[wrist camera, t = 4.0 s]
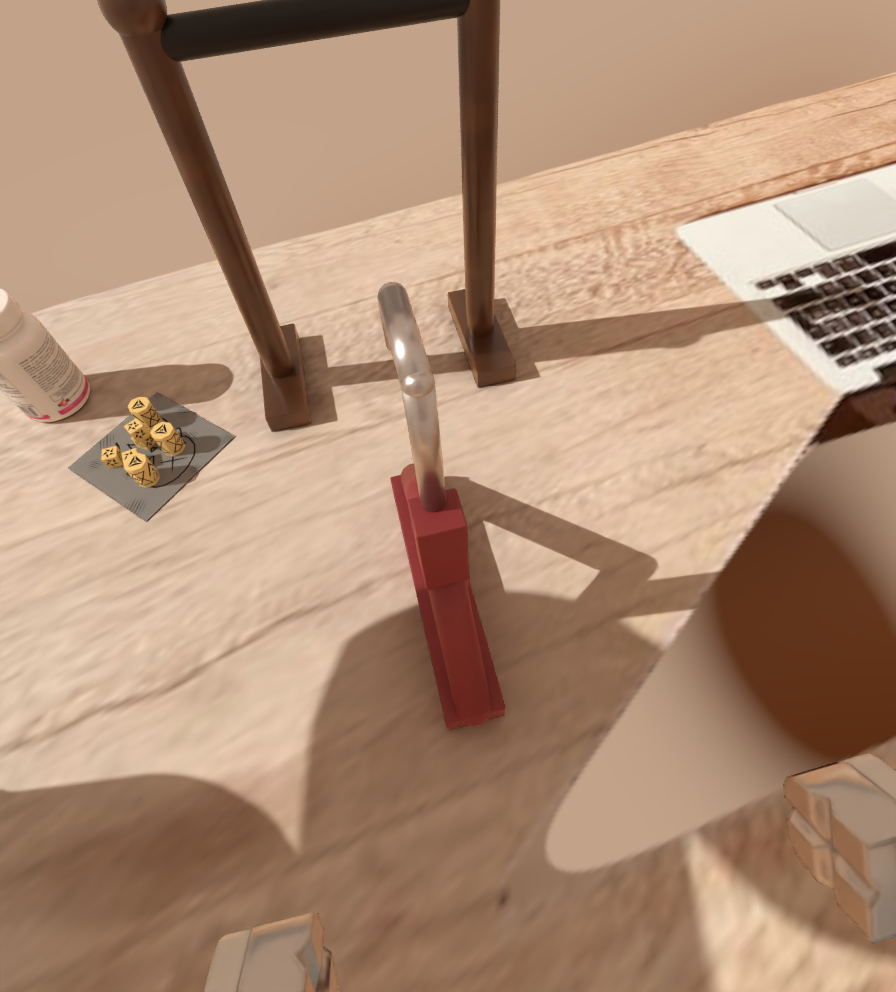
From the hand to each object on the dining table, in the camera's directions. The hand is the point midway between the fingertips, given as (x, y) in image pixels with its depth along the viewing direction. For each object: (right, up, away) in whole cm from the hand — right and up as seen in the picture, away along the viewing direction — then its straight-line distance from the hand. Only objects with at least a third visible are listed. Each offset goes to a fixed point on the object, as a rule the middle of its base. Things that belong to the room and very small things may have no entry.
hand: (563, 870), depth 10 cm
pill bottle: (-31, +13, +34) cm, 47 cm away
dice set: (-22, +9, +30) cm, 39 cm away
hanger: (-2, +1, +24) cm, 24 cm away
